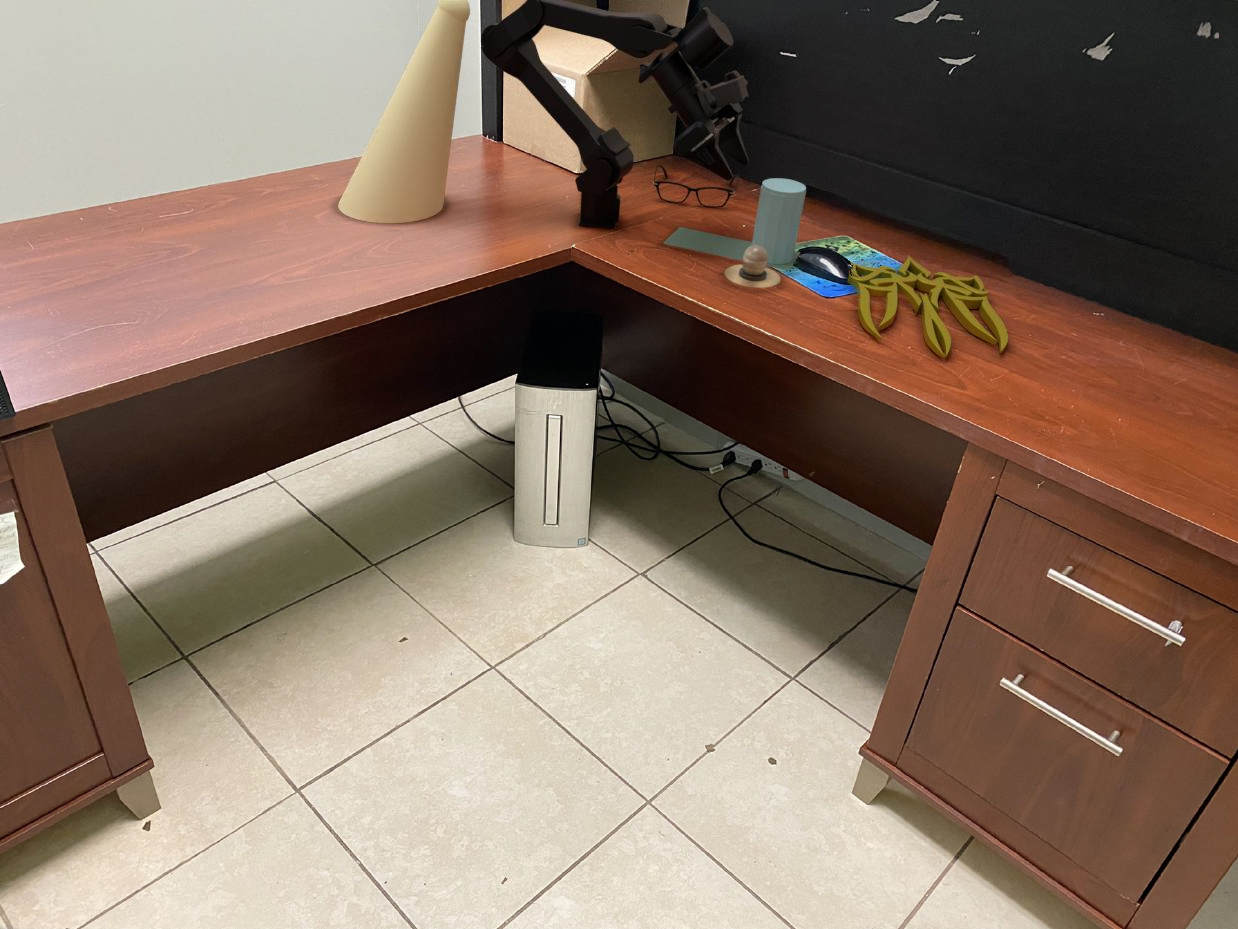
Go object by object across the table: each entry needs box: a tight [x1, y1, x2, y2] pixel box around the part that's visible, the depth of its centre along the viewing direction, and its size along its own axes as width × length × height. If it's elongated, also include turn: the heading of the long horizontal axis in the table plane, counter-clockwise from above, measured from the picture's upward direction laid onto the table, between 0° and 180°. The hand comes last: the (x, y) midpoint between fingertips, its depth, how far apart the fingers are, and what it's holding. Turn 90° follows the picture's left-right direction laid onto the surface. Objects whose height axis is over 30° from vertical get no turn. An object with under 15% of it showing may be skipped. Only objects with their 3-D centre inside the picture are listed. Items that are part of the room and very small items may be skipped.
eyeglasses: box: [652, 164, 741, 209], centre depth 170 cm, size 16×16×4 cm
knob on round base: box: [723, 245, 781, 289], centre depth 137 cm, size 9×9×6 cm
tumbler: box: [751, 177, 807, 264], centre depth 142 cm, size 7×7×12 cm
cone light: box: [337, 0, 471, 224], centre depth 144 cm, size 25×18×35 cm
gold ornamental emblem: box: [847, 254, 1009, 359], centre depth 133 cm, size 22×2×35 cm
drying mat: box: [662, 226, 801, 272], centre depth 148 cm, size 22×9×1 cm, turn 68°
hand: (739, 171), depth 140 cm, fingers open, 9 cm apart
